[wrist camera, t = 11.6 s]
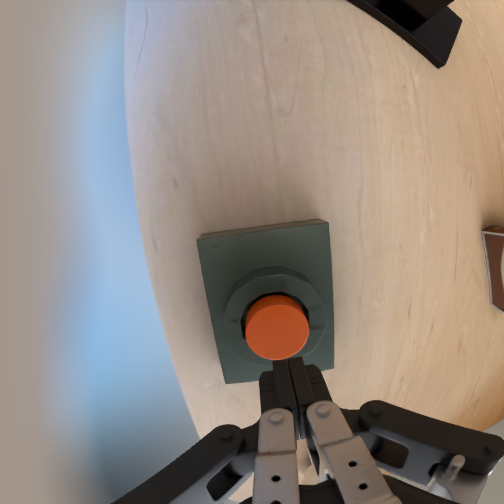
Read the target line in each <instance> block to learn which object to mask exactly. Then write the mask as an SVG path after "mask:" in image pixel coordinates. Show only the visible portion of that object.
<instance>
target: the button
mask: <svg viewBox="0 0 504 504" xmlns="http://www.w3.org/2000/svg"><path fill="white" fill-rule="evenodd" d="M245 335H246V341H247V343H248V345H249V347H250V348H251V350H252V351H253V352H254V353H256V354H257V355H259V356H261V357H263V358H266V359H270V360H281V359H285V358H288V357H291V356H293V355H294V354H296V353H297V352H299V351H300V350H301V349H302V347H303V346H304V345H305V343H306V341H307V339H308V336H309V324H308V321H307V319H306V317H305V314H304V312H303V310H302V308H301V307H300V305H299V304H298V303H297V302H296V301H295V300H293V299H292V298H289V297H287V296H283V295H270V296H266V297H264V298H262V299H260V300H258V301H257V302H255V303H254V304H253V305H252V306H251V308H250V309H249V311H248V313H247V315H246V320H245Z"/></svg>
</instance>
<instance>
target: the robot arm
mask: <svg viewBox="0 0 504 504" xmlns="http://www.w3.org/2000/svg"><path fill="white" fill-rule="evenodd" d="M287 363H288V364H287ZM272 366H273V370H272V371H265V372H262V374H261V375H260V377H259V388H260V401H261V417H260V419H259V420H258V421H257V422H256V423H255V424H253V425H252V426H249V427H246V428H243V429H240V428H239V427H238V426H235V425H230V424H226V425H221V426H218V427H216V428H215V429H213V430H212V431H211V432H210V433H208V434H207V435H206V436H205V437H204V438H202V439H201V440H200V441H199V442H198V443H196V444H195V445H194V446H192V447H191V448H190V449H189V450H187V451H186V452H185V453H184V454H182V455H181V456H180V457H178V458H177V459H176V460H174V461H173V462H172V463H170V464H169V465H168V466H166V467H165V468H164V469H162V470H161V471H160V472H158V473H157V474H155V475H154V476H152V477H151V478H150V479H148V480H147V481H145V482H144V483H142V484H141V485H139V486H138V487H136V488H135V489H133V490H132V491H130V492H129V493H127V494H126V495H124V496H123V497H121V498H119V499H118V500H116V501H115V502H113V503H111V504H222V503H224V502H225V500H227V499H228V498H229V497H230V496H231V495H232V494H233V493H234V492H235V491H236V490H237V489H238V488H239V487H240V486H241V485H242V484H243V483H244V482H245V481H246V480H247V479H248V478H249V477H250V476H251V474H252V472H254V482H253V496H252V497H250V498H248V499H246V500H244V501H242V502H241V503H239V504H476V503H477V501H478V499H479V497H480V494H481V492H482V490H483V488H484V486H485V483H486V481H487V478H488V476H489V475H490V474H491V472H492V471H493V470H494V468H495V467H496V465H497V464H498V463H499V461H500V460H501V458H502V457H503V455H504V440H503V439H502V438H501V437H499V436H497V435H493V434H488V433H484V432H480V431H476V430H472V429H469V428H465V427H461V426H458V425H454V424H451V423H447V422H444V421H440V420H437V419H434V418H431V417H428V416H424V415H421V414H418V413H415V412H412V411H409V410H406V409H403V408H401V407H398V406H395V405H392V404H389V403H387V402H384V401H380V400H373V401H369V402H366V403H365V404H363V405H362V406H361V407H360V409H359V410H347V409H342V408H340V407H338V405H337V404H335V403H334V402H333V401H332V398H331V396H330V393H329V391H328V388H327V386H326V383H325V380H324V378H323V375H322V373H321V370H320V369H319V368H318V367H317V366H316V365H314V364H310V365H305V364H304V361H303V358H302V356H300V357H293V358H287V359H281V360H273V361H272ZM299 434H300V438H301V439H305V438H306V441H307V451H308V454H309V457H310V460H311V463H312V466H313V469H314V472H315V475H316V478H317V481H318V484H316V485H299V482H298V468H297V455H296V451H297V441H296V440H299ZM378 467H379V468H381V469H383V470H386V471H388V472H390V473H393V474H395V475H398V476H400V477H402V478H405V479H408V480H410V481H413V482H415V483H418V484H421V485H424V486H426V487H427V491H428V492H427V491H424V490H421V489H419V488H417V487H414V486H412V485H410V484H407V483H405V482H403V481H401V480H398V479H396V478H394V477H391V476H388V475H384V474H381V472H380V470H379V468H378Z"/></svg>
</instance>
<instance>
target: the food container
mask: <svg viewBox="0 0 504 504" xmlns="http://www.w3.org/2000/svg"><path fill="white" fill-rule="evenodd" d="M481 232H482V238H483V243H484V249H485V255H486V262H487V270H488V278H489V288H490V300H491V305H492V306H493V307H494V308H496V309H497V310H499V311H500V312H501V313H503V314H504V227H499V226H490V227H487V228H485V229H484V230H482V231H481Z"/></svg>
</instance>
